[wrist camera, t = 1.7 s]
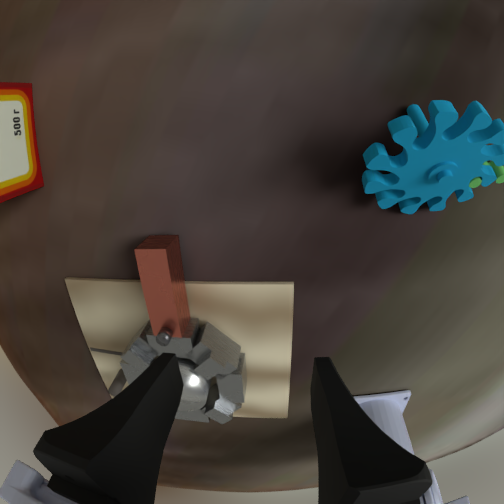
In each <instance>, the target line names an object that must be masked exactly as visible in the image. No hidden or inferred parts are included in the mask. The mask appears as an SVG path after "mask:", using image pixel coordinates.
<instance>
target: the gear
mask: <svg viewBox="0 0 504 504" xmlns="http://www.w3.org/2000/svg"><path fill="white" fill-rule="evenodd" d="M428 110H429V113H430V122H429V124H428V122H427V120H426V118H425V116H424V114H423V113H422V111H421V109H420V107H419V106H418V105H416V104H413V105H410V106H409V107H408V108H407V113H408V115H409V116H408V115H404V116H401V117H398V118H396V119H394V120H392V121H390V122H388V128H389V131H390V133H391V135H392V138H393V140H394V141H395V142H396V143H398V144H400V145H401V146H403V151H402V153H400V154H399V155H397V156H389V155H388V154H387V151H386V149H385V146H384V145H383V144H381V143H373V144H372V145H371V146H369V147H368V148H367V150H366V151H365V152H364V153H363V157H364V161H365V164H366V167H367V168H368V169H370V170H366V171H364V173H363V175H362V183H363V187H364V191H365V193H366V194H373V193H375V195H376V199H377V202H378V205H379V206H380V207H381V208H382V209H386V208H389V207H391V206H393V205H394V204H396V203H397V202H398V204H399V207H400V211H401V212H403V213H406V214H413V213H415V212H416V211H417V209H418V208H419V207H420V206H421V205H422V204H423V203H424V202H426V201H427V204H428V207H429V210H430V211H440V210H443V209H444V208H445V207H446V204H445V203H446V200H447V198H448V197H449V196H450V195H451V194H452V193H453V192H454V191H455V194H456V196H457V199H458V201H459V202H463V201H466V200H469V199H471V198H473V196H474V195H473V192H472V189H471V188H475V187H477V186H479V185H480V184H481V185H482V186H484V187H486V186H488V185H489V184H491V183H492V182H494V181H496V183H503V182H504V167H503V165H504V124H503V122H502V121H501V119H495V120H493V121H492V119H491V118H490V116H489V114H488V113H487V111H486V110H485V108H484V107H483V106H482V105H481V104H480V103H478V102H477V101H473V102H471V103H470V104H469V105H468V107H467V109H466V111H465V113H464V114H463V116H462V117H461V118H460V119H459V120H458V121H457V119H458V113H457V112H456V110H455V108H454V107H453V105H452V104H451V102H449V101H444V100H432V101H431V102H430V104H429V107H428ZM456 121H457V122H456ZM417 134H418V136H419V138H416V137H417ZM488 143H493V144H494V145H486V144H488ZM490 160H492V161H491V162H490ZM376 170H385V171H389V172H392V173H390V174H381V173H380V172H378V171H376Z"/></svg>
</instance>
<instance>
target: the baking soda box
mask: <svg viewBox="0 0 504 504" xmlns="http://www.w3.org/2000/svg"><path fill="white" fill-rule="evenodd" d="M43 186H44V182H43V177H42V172H41V166H40V160H39V154H38V147H37V140H36V131H35V122H34V111H33V97H32V83H7V82H0V203H1V202H4V201H6V200H9V199H11V198H14V197H16V196H19V195H21V194H24V193H26V192H29V191H32V190H34V189H37V188H40V187H43Z"/></svg>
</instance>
